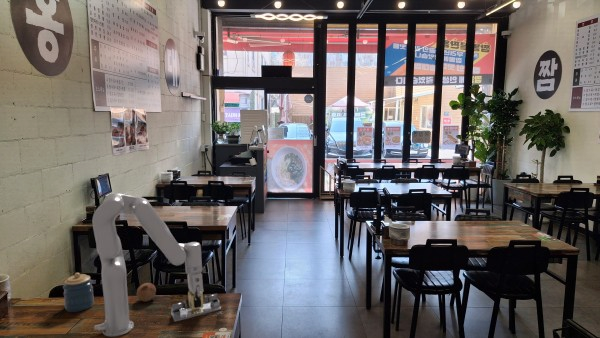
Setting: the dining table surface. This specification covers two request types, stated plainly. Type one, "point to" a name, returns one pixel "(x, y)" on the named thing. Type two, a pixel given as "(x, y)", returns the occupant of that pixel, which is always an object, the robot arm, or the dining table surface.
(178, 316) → the shaft bench
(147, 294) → the onion
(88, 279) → the canister
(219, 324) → the dining table surface
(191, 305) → the tan wooden cube
